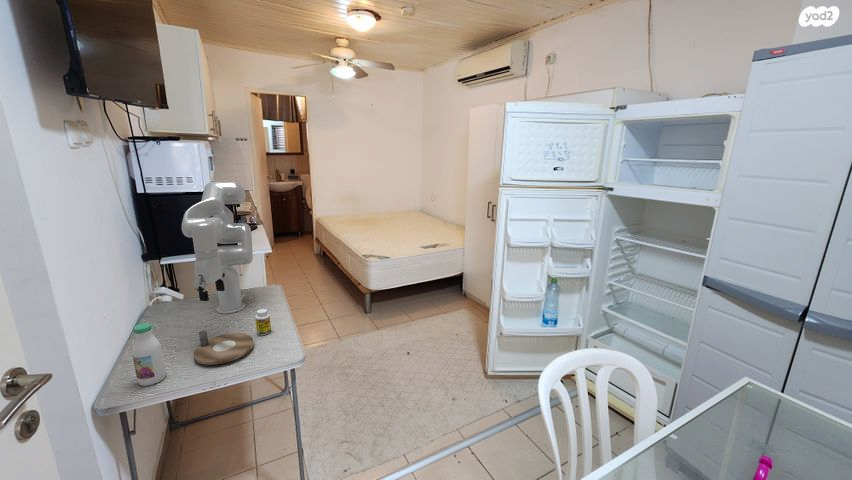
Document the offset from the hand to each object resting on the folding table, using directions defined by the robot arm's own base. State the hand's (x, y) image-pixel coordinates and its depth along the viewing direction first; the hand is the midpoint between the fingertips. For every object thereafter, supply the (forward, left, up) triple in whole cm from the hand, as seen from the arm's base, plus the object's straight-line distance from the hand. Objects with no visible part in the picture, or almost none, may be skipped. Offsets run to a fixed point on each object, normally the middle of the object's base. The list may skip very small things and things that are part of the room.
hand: (212, 295), depth 138 cm
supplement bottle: (-9, +14, -20) cm, 26 cm away
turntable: (+7, +7, -19) cm, 21 cm away
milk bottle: (+25, -7, -20) cm, 33 cm away
